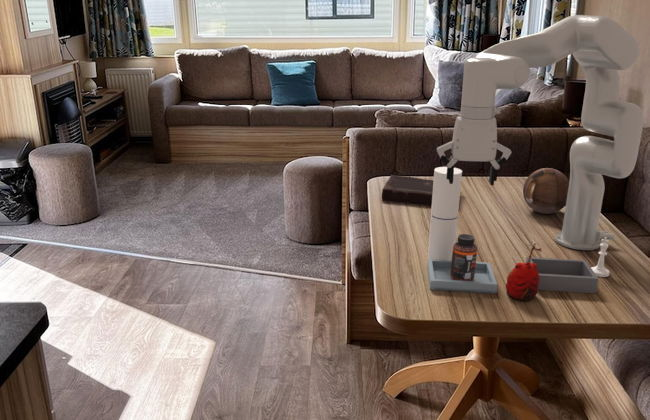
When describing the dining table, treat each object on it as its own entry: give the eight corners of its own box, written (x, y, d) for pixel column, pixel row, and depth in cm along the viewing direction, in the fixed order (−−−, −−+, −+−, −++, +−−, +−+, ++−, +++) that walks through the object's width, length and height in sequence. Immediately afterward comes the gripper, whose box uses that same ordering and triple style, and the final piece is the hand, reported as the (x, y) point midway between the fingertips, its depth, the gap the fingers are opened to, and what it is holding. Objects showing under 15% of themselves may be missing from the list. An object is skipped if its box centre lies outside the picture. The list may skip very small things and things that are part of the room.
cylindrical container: (438, 265, 170) (445, 175, 161) (422, 255, 176) (428, 168, 167) (459, 260, 173) (467, 172, 164) (443, 251, 179) (450, 165, 170)
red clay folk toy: (530, 289, 157) (538, 233, 152) (542, 302, 150) (551, 244, 145) (500, 290, 156) (507, 234, 151) (512, 304, 150) (519, 245, 144)
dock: (583, 274, 166) (585, 260, 164) (595, 293, 155) (598, 278, 154) (524, 270, 167) (526, 257, 166) (533, 289, 157) (535, 275, 155)
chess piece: (607, 278, 164) (614, 242, 160) (587, 274, 166) (593, 238, 163) (610, 271, 167) (617, 236, 164) (591, 267, 170) (597, 232, 167)
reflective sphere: (557, 205, 218) (563, 163, 213) (575, 220, 204) (582, 175, 199) (514, 204, 218) (519, 162, 213) (529, 220, 204) (535, 175, 199)
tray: (488, 271, 166) (489, 262, 166) (496, 293, 154) (497, 284, 153) (427, 267, 168) (428, 259, 167) (430, 289, 156) (430, 280, 155)
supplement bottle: (474, 284, 158) (478, 242, 154) (449, 281, 159) (453, 240, 155) (473, 274, 163) (478, 233, 159) (450, 272, 164) (454, 231, 160)
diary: (454, 210, 213) (455, 195, 212) (381, 202, 220) (382, 188, 218) (458, 193, 230) (460, 180, 229) (390, 187, 236) (391, 174, 235)
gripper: (512, 110, 149) (505, 179, 155) (438, 108, 151) (433, 177, 157) (518, 116, 142) (510, 189, 148) (440, 115, 144) (435, 186, 150)
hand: (470, 183), depth 153 cm, fingers open, 9 cm apart
